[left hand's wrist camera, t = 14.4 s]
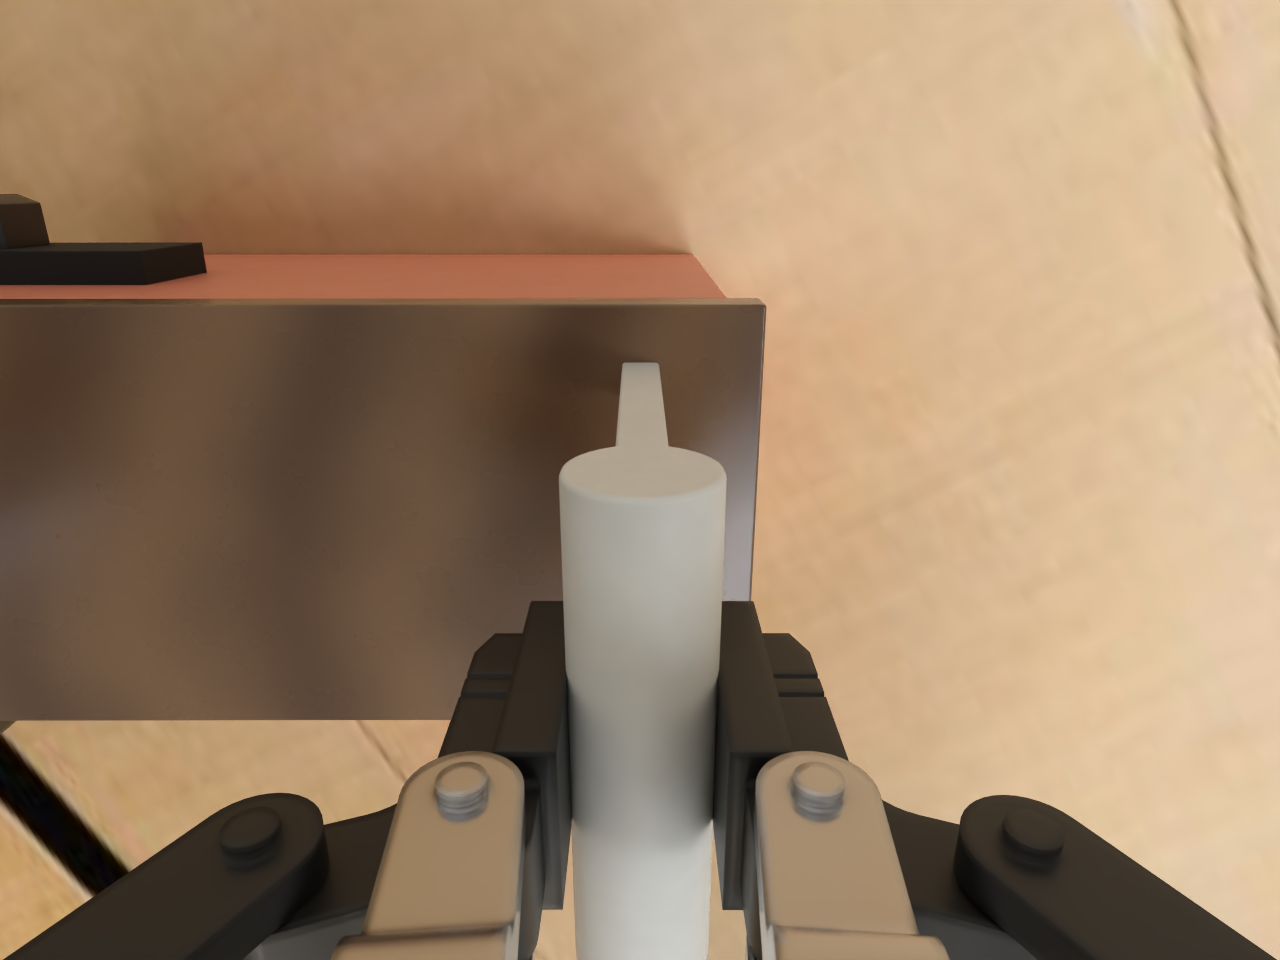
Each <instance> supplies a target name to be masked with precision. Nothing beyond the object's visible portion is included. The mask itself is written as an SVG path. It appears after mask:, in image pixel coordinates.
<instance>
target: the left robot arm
mask: <svg viewBox="0 0 1280 960" xmlns="http://www.w3.org/2000/svg"><path fill="white" fill-rule="evenodd" d="M712 819H713V828H714V837H715V846H716V855H717V864H718V873H719V882H720V890H721V899H722V908H723V910H744V917H745V924H746V931H747V939H746V956H745V960H1277V959H1275V958H1274V957H1272V956H1271V955H1269V954H1268V953H1266V952H1265V951H1264V950H1262V949H1261V948H1259V947H1258V946H1256V945H1255V944H1253V943H1252V942H1251V941H1249V940H1248V939H1246V938H1245V937H1243V936H1242V935H1241V934H1239V933H1238V932H1236V931H1235V930H1233V929H1232V928H1230V927H1229V926H1228V925H1226V924H1225V923H1223V922H1222V921H1220V920H1219V919H1217V918H1216V917H1215V916H1213V915H1212V914H1210V913H1209V912H1207V911H1206V910H1204V909H1203V908H1202V907H1200V906H1199V905H1197V904H1196V903H1194V902H1193V901H1191V900H1190V899H1189V898H1187V897H1186V896H1184V895H1183V894H1181V893H1180V892H1179V891H1177V890H1176V889H1174V888H1173V887H1171V886H1170V885H1168V884H1167V883H1166V882H1164V881H1163V880H1161V879H1160V878H1158V877H1157V876H1155V875H1154V874H1153V873H1151V872H1150V871H1148V870H1147V869H1145V868H1144V867H1142V866H1141V865H1140V864H1138V863H1137V862H1135V861H1134V860H1132V859H1131V858H1129V857H1128V856H1127V855H1125V854H1124V853H1122V852H1121V851H1119V850H1118V849H1116V848H1115V847H1114V846H1112V845H1111V844H1109V843H1108V842H1106V841H1105V840H1104V839H1102V838H1101V837H1099V836H1098V835H1096V834H1095V833H1093V832H1092V831H1091V830H1089V829H1088V828H1086V827H1085V826H1083V825H1082V824H1080V823H1079V822H1078V821H1076V820H1075V819H1073V818H1072V817H1070V816H1068V815H1067V814H1065V813H1064V812H1062V811H1060V810H1058V809H1056V808H1054V807H1052V806H1050V805H1047V804H1045V803H1042V802H1039V801H1036V800H1033V799H1029V798H1025V797H1019V796H1011V795H995V796H989V797H984V798H981V799H979V800H976V801H975V802H973V803H971V804H970V805H969V806H968V807H967V808H966V809H965V810H964V812H963V814H962V816H961V820H960V825H959V824H954V823H950V822H946V821H942V820H938V819H933V818H929V817H925V816H921V815H917V814H914V813H910V812H907V811H904V810H902V809H899V808H897V807H895V806H893V805H891V804H889V803H887V802H885V801H883V800H882V799H881V795H880V793H879V790H878V788H877V786H876V784H875V783H874V781H873V780H872V779H871V778H870V777H869V776H868V775H867V773H865V772H864V771H863V770H862V769H860V768H859V767H858V766H856V765H854V764H853V763H851V762H849V760H848V758H847V755H846V752H845V749H844V746H843V744H842V741H841V738H840V735H839V733H838V730H837V727H836V724H835V721H834V719H833V716H832V713H831V710H830V707H829V705H828V702H827V699H826V697H824V691H823V688H822V685H821V682H820V680H819V679H818V674H817V671H816V668H815V666H814V663H813V660H812V657H811V655H810V652H809V651H808V650H807V649H806V648H804V647H803V646H802V645H801V644H800V643H799V642H798V641H797V640H796V639H795V638H793V637H792V636H791V635H790V634H789V633H762V631H761V627H760V624H759V620H758V616H757V613H756V609H755V605H754V602H753V601H722V609H721V635H720V661H719V673H718V686H717V712H716V738H715V764H714V790H713V816H712ZM571 824H572V801H571V773H570V745H569V717H568V689H567V673H566V662H565V635H564V607H563V601H531V603H530V606H529V610H528V614H527V617H526V621H525V625H524V629H523V633H495V634H494V635H493V636H492V637H491V638H490V639H488V640H487V641H486V642H485V643H484V644H483V645H482V646H481V647H480V648H479V649H478V650H476V651H475V653H474V656H473V658H472V661H471V664H470V667H469V670H468V673H467V678H465V681H464V684H463V687H462V690H461V697H459V698H458V701H457V704H456V707H455V710H454V713H453V716H452V718H451V721H450V724H449V727H448V730H447V733H446V736H445V738H444V741H443V744H442V747H441V750H440V753H439V756H438V758H437V759H435V760H433V761H431V762H429V763H427V764H426V765H424V766H422V767H421V768H420V769H418V770H417V771H416V772H415V773H413V775H412V776H411V777H410V778H409V779H408V780H407V781H406V783H405V784H404V786H403V788H402V790H401V793H400V795H399V799H398V802H397V804H395V805H393V806H391V807H388V808H386V809H383V810H381V811H378V812H375V813H371V814H368V815H364V816H360V817H355V818H351V819H347V820H343V821H339V822H335V823H330V824H326V825H323V819H322V814H321V812H320V810H319V808H318V807H317V806H316V805H315V804H314V803H313V802H312V801H310V800H309V799H307V798H305V797H302V796H299V795H295V794H290V793H270V794H263V795H258V796H254V797H250V798H246V799H243V800H241V801H238V802H236V803H233V804H231V805H229V806H227V807H225V808H223V809H221V810H219V811H218V812H216V813H214V814H213V815H211V816H210V817H208V818H207V819H205V820H204V821H202V822H201V823H200V824H198V825H197V826H195V827H194V828H192V829H191V830H189V831H188V832H187V833H185V834H184V835H182V836H181V837H179V838H178V839H177V840H175V841H174V842H172V843H171V844H169V845H168V846H166V847H165V848H164V849H162V850H161V851H159V852H158V853H156V854H155V855H153V856H152V857H151V858H149V859H148V860H146V861H145V862H143V863H142V864H140V865H139V866H138V867H136V868H135V869H133V870H132V871H130V872H129V873H127V874H126V875H125V876H123V877H122V878H120V879H119V880H117V881H116V882H115V883H113V884H112V885H110V886H109V887H107V888H106V889H104V890H103V891H102V892H100V893H99V894H97V895H96V896H94V897H93V898H91V899H90V900H89V901H87V902H86V903H84V904H83V905H81V906H80V907H78V908H77V909H76V910H74V911H73V912H71V913H70V914H68V915H67V916H65V917H64V918H63V919H61V920H60V921H58V922H57V923H55V924H54V925H52V926H51V927H50V928H48V929H47V930H45V931H44V932H42V933H41V934H40V935H38V936H37V937H35V938H34V939H32V940H31V941H29V942H28V943H27V944H25V945H24V946H22V947H21V948H19V949H18V950H16V951H15V952H14V953H12V954H11V955H9V956H8V957H6V958H5V959H3V960H535V956H534V949H535V947H536V945H537V940H538V936H539V928H540V921H541V913H542V910H558V909H563V900H564V891H565V881H566V872H567V862H568V853H569V843H570V834H571Z"/></svg>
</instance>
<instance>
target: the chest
mask: <svg viewBox="0 0 1280 960" xmlns="http://www.w3.org/2000/svg"><path fill="white" fill-rule="evenodd" d="M204 258H205V264H206V269H207V273H203V274H198V275H193V276H188V277H184V278H179V279H174V280H169V281H164V282H159V283H155V284H150V285H0V299H620V298H726V297H725V296H724V294H723V293H722V292H721V290H720V289H719V288H718V286H717V285H716V284H715V282H714V281H713V280H712V279H711V277H710V276H709V275H708V273H707V272H706V271H705V269H704V268H703V267H702V265H701V264H700V263H699V262H698V260H697V259H696V258H695V257H694V255H692V254H204Z"/></svg>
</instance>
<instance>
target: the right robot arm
mask: <svg viewBox="0 0 1280 960" xmlns="http://www.w3.org/2000/svg"><path fill="white" fill-rule="evenodd" d="M203 273H207V269H206V264H205V258H204V252H203V247H202V243H50V242H49V238H48V234H47V230H46V226H45V221H44V217H43V213H42V209H41V205H40V203H39V202H36V201H33V200H31V199H28V198H26V197H23V196H20V195H18V194H0V285H150V284H155V283H159V282H164V281H169V280H174V279H179V278H184V277H188V276H193V275H198V274H203ZM15 721H17V720H0V734H2V733H3V732H4V731H5V730H6V729H7V728H9V727H10V726H11V725H12V724H13V723H14V722H15Z"/></svg>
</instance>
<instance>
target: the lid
mask: <svg viewBox="0 0 1280 960" xmlns="http://www.w3.org/2000/svg"><path fill="white" fill-rule="evenodd" d="M765 323H766V305H765V304H764V303H763V302H762V301H761V300H760V299H758V298H620V299H0V720H451V718H452V716H453V713H454V710H455V707H456V704H457V701H458V698H459V697H461V690H462V687H463V684H464V681H465V678H467V673H468V670H469V667H470V664H471V661H472V658H473V656H474V653H475V651H476V650H478V649H479V648H480V647H481V646H482V645H483V644H484V643H485V642H486V641H487V640H488V639H490V638H491V637H492V636H493V635H494V634H495V633H523V629H524V625H525V621H526V617H527V614H528V610H529V606H530V603H531V601H563V607H564V635H565V662H566V673H567V689H568V717H569V745H570V773H571V801H572V824H571V827H572V855H573V882H574V910H575V937H576V954H577V960H707V956H708V943H709V918H710V892H711V866H712V841H713V819H712V816H713V790H714V764H715V738H716V712H717V686H718V673H719V661H720V635H721V609H722V601H751V589H752V570H753V551H754V532H755V513H756V494H757V475H758V456H759V437H760V418H761V399H762V380H763V361H764V342H765Z"/></svg>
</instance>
